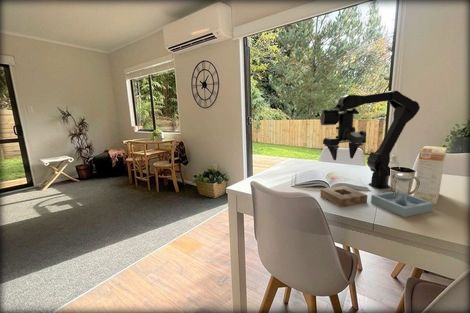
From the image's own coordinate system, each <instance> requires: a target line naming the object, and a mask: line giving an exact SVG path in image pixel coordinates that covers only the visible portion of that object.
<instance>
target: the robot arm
mask: <svg viewBox="0 0 470 313" xmlns="http://www.w3.org/2000/svg"><path fill="white" fill-rule="evenodd" d="M380 102H388V103H389V105H390V106H391V107H392V108H394V111H393V121H392V123H391V125H390V126H389V128H388V130H387V132H386V134H385V135H384V138H383V139H382V141H381V143H380V145H379V147H378V149H377V150H376V151H371V152H370V153H369V155H368V157H367V158H366V160H367V161H366V164H367V167H369V170H370V171H371V172H372V175H371V181H370V183H368V186H371V187H374V188H376V189H380V190H382V189H389V188H391V187H390V186H391V185H389V179H390V177H391V176H390V167H389V166H388V165H389V162H390V160H391V152H392V151H393V149H394V147H395V145H396V143H397V142H398V140H399V138H400V136H401V134H402V132H403V130H404V128H405V126H406V125H407V124H408V123H409V122H410V121H411V120H412V119H414V117H415V116H416V115H417V113H418V112H419V110H420V109H421V108H420V104H419V102H418V101H417V100H413V99H411V98H410V97H408V96H406V95H405V94H403V93H402V92H400V91H398V90H389V91H386V92H379V93H373V94H365V95H363V94H362V95H361V94H348V95H346V94H345V95H342V96H340V98H338V102H337V103H336V105H335V106H334V107H333V109H322V112H321V115H320V118H319V120H320V125H321V126H336V125H337V126H336V127H335V130H337V135H335V137H324V139H323V140H322V144H323V145H324V146H325V147H327V148H328V151H329V152H330V156H331V157H332V160H333V161H337V156H338V149H339V148H340V145H339V144H341V143H342V144H343V143H348V151H349V158H350V159H353V158H354V156H355V154H356V153H357V150H358V148H359V147H361V146H363V145H364V144H365V143H366V142H367V132H366V131H365V130H360V131H356V127H355V126H354V116H355V115H358V114H360V112H359V110H357V109H356V108H358V107H360V106H363V105H366V104H367V105H368V104H376V103H380Z"/></svg>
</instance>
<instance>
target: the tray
mask: <svg viewBox="0 0 470 313" xmlns="http://www.w3.org/2000/svg"><path fill="white" fill-rule="evenodd" d="M393 196H394V193H393V192H392V191H387V192H382V193H381V192H380V193H375V194H371V199H370V203H371V204H374V205H376V206H378V207H381V208H383V209H386V210H387V211H390V212H392V213H394V214H397V215H399V216H400V217H403V218H407V217H411V216H416V215H421V214H425V213H430V212H433V211H434V205H435V204H434V203H432V202H429V201H426V200H424V199H421V198H418V197H415V196H414V195H411V194H409V195H408V198H407V205H406V206H401V205H399V204H396V203H394V202H395V198H393Z"/></svg>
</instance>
